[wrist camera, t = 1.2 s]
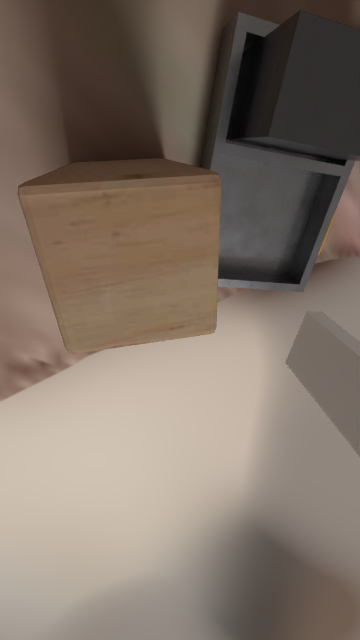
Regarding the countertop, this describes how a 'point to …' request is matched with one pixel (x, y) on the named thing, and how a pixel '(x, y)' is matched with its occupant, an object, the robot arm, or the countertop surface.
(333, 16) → the countertop surface
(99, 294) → the wooden block
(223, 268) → the rack
